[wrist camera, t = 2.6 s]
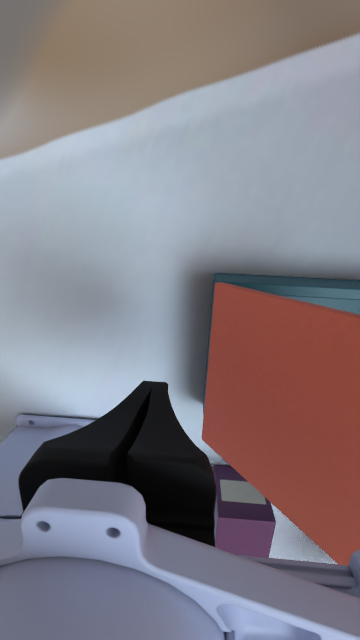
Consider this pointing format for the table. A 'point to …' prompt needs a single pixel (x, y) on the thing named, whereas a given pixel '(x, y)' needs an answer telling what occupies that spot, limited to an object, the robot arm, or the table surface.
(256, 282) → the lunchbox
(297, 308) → the lunchbox lid
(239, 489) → the juice box
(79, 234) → the table surface
